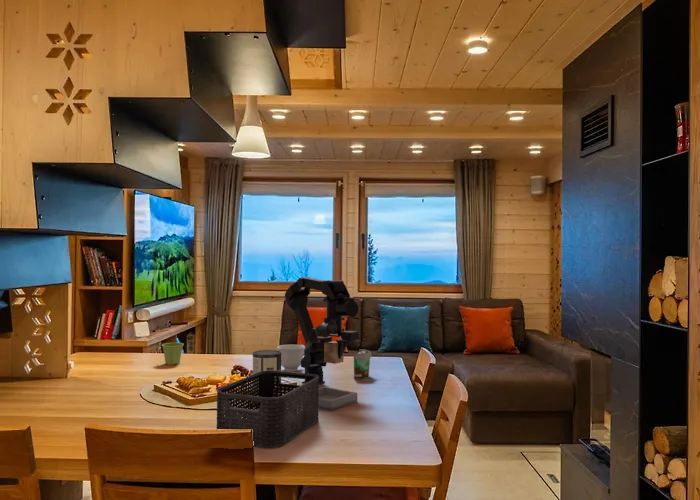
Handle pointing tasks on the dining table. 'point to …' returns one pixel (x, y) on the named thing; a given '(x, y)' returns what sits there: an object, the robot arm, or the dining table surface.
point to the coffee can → (267, 361)
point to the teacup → (291, 356)
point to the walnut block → (332, 353)
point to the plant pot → (172, 353)
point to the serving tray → (335, 398)
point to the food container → (361, 364)
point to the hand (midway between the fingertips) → (333, 357)
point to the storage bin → (269, 407)
